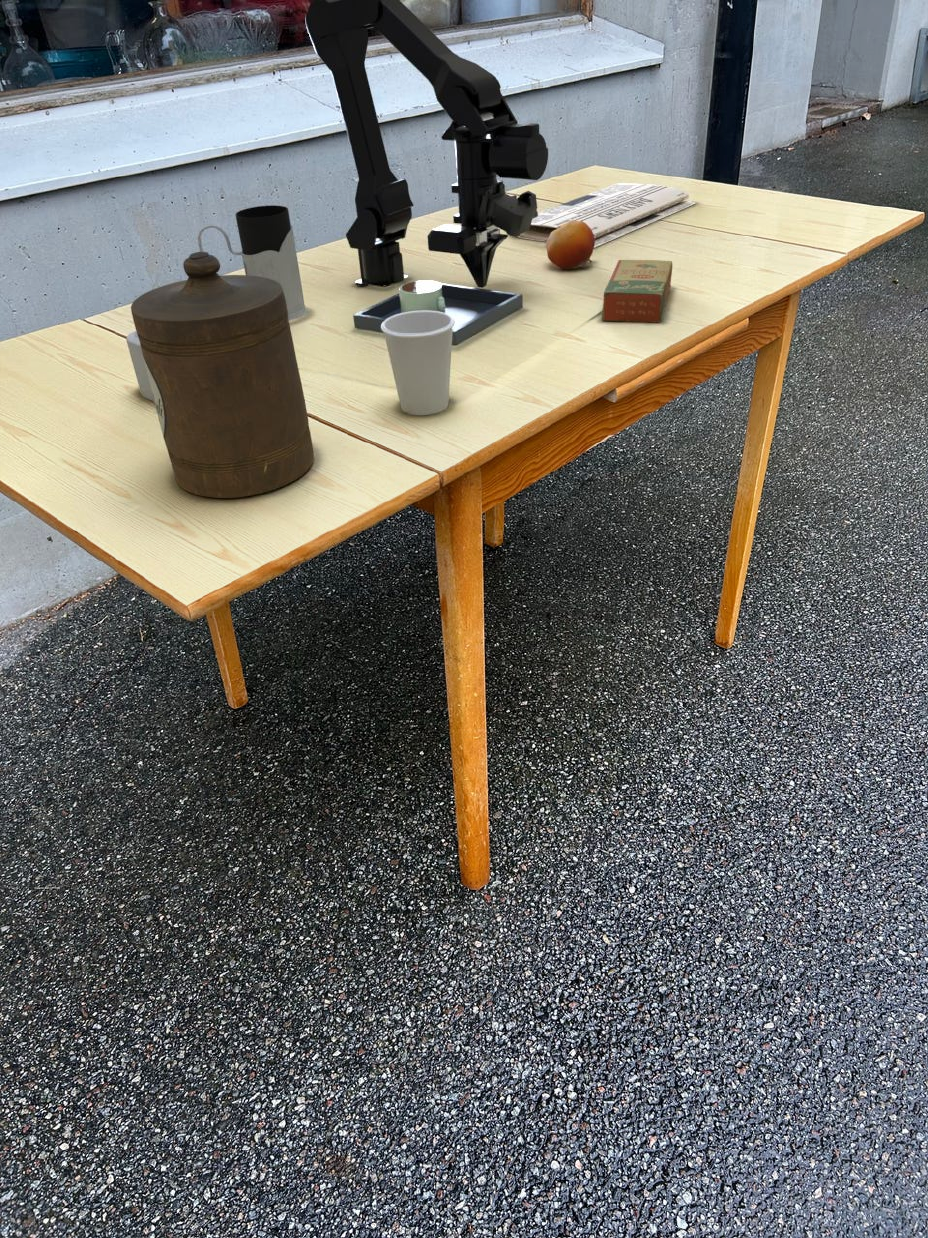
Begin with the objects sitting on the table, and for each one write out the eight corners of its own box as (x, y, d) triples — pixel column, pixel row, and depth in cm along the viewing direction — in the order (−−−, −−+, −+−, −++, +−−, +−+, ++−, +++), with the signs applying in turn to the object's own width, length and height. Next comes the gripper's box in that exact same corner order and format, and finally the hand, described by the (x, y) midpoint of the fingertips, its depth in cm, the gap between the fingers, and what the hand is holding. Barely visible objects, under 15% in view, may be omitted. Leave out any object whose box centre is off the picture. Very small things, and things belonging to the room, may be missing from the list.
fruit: (603, 262, 149) (578, 218, 146) (561, 288, 152) (536, 245, 149) (607, 249, 155) (583, 205, 152) (567, 274, 159) (542, 232, 156)
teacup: (394, 328, 131) (390, 289, 128) (418, 316, 135) (415, 277, 132) (433, 335, 128) (430, 295, 125) (457, 322, 132) (455, 283, 129)
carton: (671, 288, 141) (673, 258, 138) (661, 323, 129) (663, 292, 126) (616, 286, 143) (617, 257, 140) (601, 321, 131) (602, 290, 128)
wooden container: (218, 432, 107) (171, 232, 94) (335, 441, 103) (304, 234, 90) (147, 493, 96) (84, 275, 83) (277, 506, 92) (231, 279, 79)
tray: (355, 331, 133) (352, 314, 132) (426, 296, 145) (424, 280, 143) (456, 349, 125) (454, 331, 124) (523, 310, 136) (522, 294, 135)
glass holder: (307, 323, 137) (289, 215, 129) (211, 331, 137) (187, 224, 128) (310, 305, 144) (294, 202, 136) (219, 312, 144) (197, 209, 135)
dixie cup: (404, 425, 106) (395, 339, 100) (380, 400, 112) (370, 318, 106) (471, 410, 108) (466, 325, 102) (443, 386, 115) (437, 305, 109)
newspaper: (612, 194, 194) (612, 180, 193) (696, 203, 184) (697, 188, 182) (505, 235, 172) (504, 219, 170) (593, 248, 162) (593, 231, 160)
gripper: (489, 192, 122) (494, 311, 131) (558, 165, 134) (558, 275, 144) (421, 187, 128) (430, 302, 137) (493, 161, 140) (497, 268, 149)
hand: (481, 286), depth 141 cm, fingers closed
